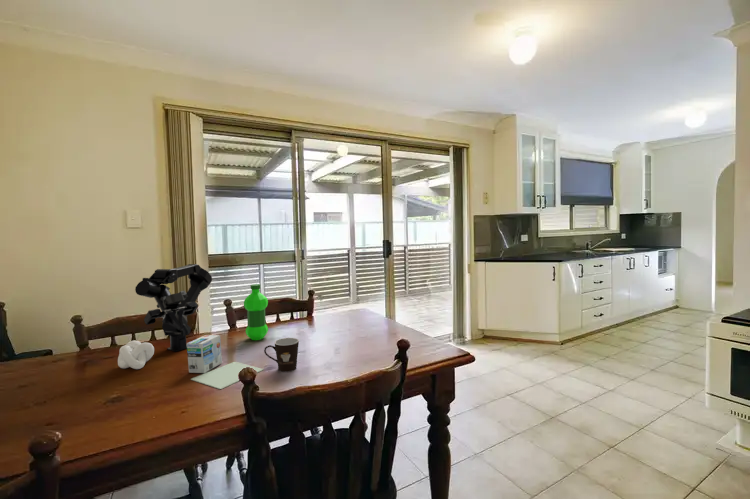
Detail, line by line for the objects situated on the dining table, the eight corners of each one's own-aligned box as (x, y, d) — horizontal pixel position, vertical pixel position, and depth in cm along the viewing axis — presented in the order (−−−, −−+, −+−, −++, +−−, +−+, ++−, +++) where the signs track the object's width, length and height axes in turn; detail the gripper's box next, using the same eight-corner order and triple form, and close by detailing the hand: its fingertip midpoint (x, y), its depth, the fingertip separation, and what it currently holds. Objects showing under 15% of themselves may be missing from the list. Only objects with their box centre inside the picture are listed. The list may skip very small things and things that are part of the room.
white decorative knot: (150, 358, 146) (149, 335, 145) (159, 366, 137) (157, 342, 137) (116, 365, 138) (114, 342, 137) (123, 374, 130) (121, 350, 129)
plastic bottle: (273, 337, 171) (271, 284, 170) (255, 343, 162) (253, 287, 161) (259, 333, 177) (257, 282, 175) (240, 339, 168) (238, 285, 166)
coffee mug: (303, 365, 136) (303, 339, 136) (291, 374, 128) (290, 346, 128) (277, 361, 140) (276, 336, 140) (263, 370, 132) (262, 343, 131)
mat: (190, 379, 125) (190, 378, 125) (234, 362, 140) (234, 361, 140) (220, 389, 117) (220, 388, 117) (263, 369, 132) (263, 369, 132)
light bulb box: (204, 373, 129) (202, 343, 128) (188, 373, 130) (185, 343, 130) (223, 362, 139) (220, 334, 139) (207, 362, 141) (205, 334, 140)
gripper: (146, 289, 134) (164, 322, 129) (194, 281, 150) (212, 311, 145) (136, 308, 139) (154, 341, 134) (183, 298, 155) (201, 328, 150)
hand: (181, 329), depth 141 cm, fingers closed
